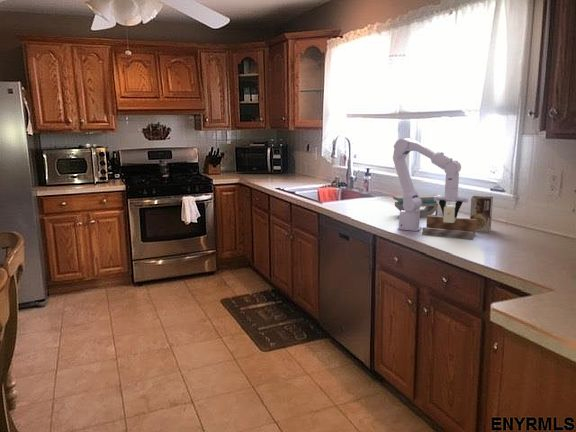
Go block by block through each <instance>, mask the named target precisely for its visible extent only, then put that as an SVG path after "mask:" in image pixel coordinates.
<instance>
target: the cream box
mask: <svg viewBox="0 0 576 432" xmlns="http://www.w3.org/2000/svg"><path fill="white" fill-rule="evenodd" d="M455 221H456V218H455V204H454V205H453V204H450V205H446V206H445V207H444V217H443V222H447V223H454V222H455Z"/></svg>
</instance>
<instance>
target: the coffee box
mask: <svg viewBox="0 0 576 432" xmlns="http://www.w3.org/2000/svg"><path fill="white" fill-rule="evenodd" d="M493 200H494V196H487V195H485V196H484V195H473V196H471V198H470V213H469V214H470V216H469V219H476V232H484V233H490V232H491V230H492V218H493V216H492V215H493V205H494V203H493V202H494V201H493Z"/></svg>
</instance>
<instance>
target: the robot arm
mask: <svg viewBox="0 0 576 432" xmlns="http://www.w3.org/2000/svg"><path fill="white" fill-rule="evenodd" d="M410 152H417V153H419V154H421V155H423V156H424V157H427V159H429V160H430V161H431V164H433V165H435V166H437V168H440V169H442V170H443V171H444V172H445V173H444V174H445V183H444V195H445V196H435V197H434V201H439V204H440V207H441V209H442V213H443V217H444V207H445V206H446V201H450V202H454V203H455V204H454V205H455V218H458V213H459V211H460V208H461V206H462V205H463V204H464V203H465V204H467V203H469V197H463V196H461V197H460V196H459V184H460V183H459V182H460V181H459V180H460V172H461V170H462V165H461V163H460V162H459V161H458V160H453V158H450V157H448V156H446V155H445V153H444V152H442V151H441V152H439V151H438V152H435V151H433V150H431V149H430V148H428V147H426V146H425V145H424V144H422V143H420V141H418V140H415V139H413V138H411V137H407V138H398V139H397V140H396V141H395V142H394V145H393V154H392V155H393V156H392V161H393V164H394V167H395V170H396V173H397V176H398V179H399V183H400V186H401V190H402V192H403V193H402V196H403V197H402V198H403V208H404V209H405V210H401V211H400V210H399V216H398V217H399V218H398V230H403V231H413V232H414V231H415V232H418V231H420V230H421V229H422V226H420V219H421V217H420V208H421V206H422V200H421V198H420V197H419V196H418V195H419V192H417V190H416V189H415V187H414V184H413V181H412V180H413V179H412V177H411V175H410V172H409V169H408V165H407V162H406V158H407V157H408V155H409V153H410Z"/></svg>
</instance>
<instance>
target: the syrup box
mask: <svg viewBox="0 0 576 432" xmlns="http://www.w3.org/2000/svg"><path fill="white" fill-rule="evenodd" d="M437 195H438V196H445V194H437ZM446 205H451V201H446ZM434 213H435V215H434V216H441V217H443V213H442V209H441V207H440V204H439V201H436V211H435V212H434Z"/></svg>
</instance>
